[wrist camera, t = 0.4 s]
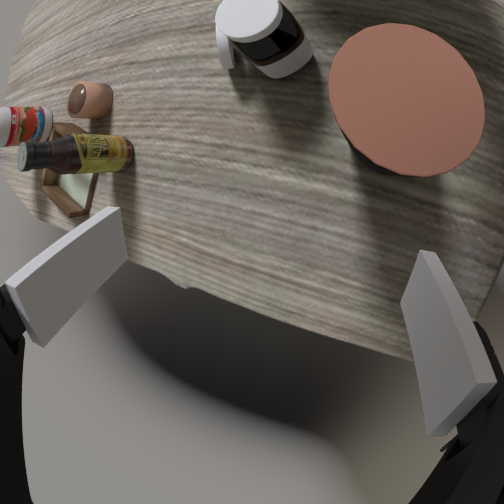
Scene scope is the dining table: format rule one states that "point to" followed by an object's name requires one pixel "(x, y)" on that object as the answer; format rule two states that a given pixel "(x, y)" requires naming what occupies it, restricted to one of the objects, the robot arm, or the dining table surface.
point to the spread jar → (261, 36)
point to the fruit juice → (24, 125)
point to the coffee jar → (406, 101)
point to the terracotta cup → (89, 100)
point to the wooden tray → (68, 181)
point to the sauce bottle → (77, 154)
